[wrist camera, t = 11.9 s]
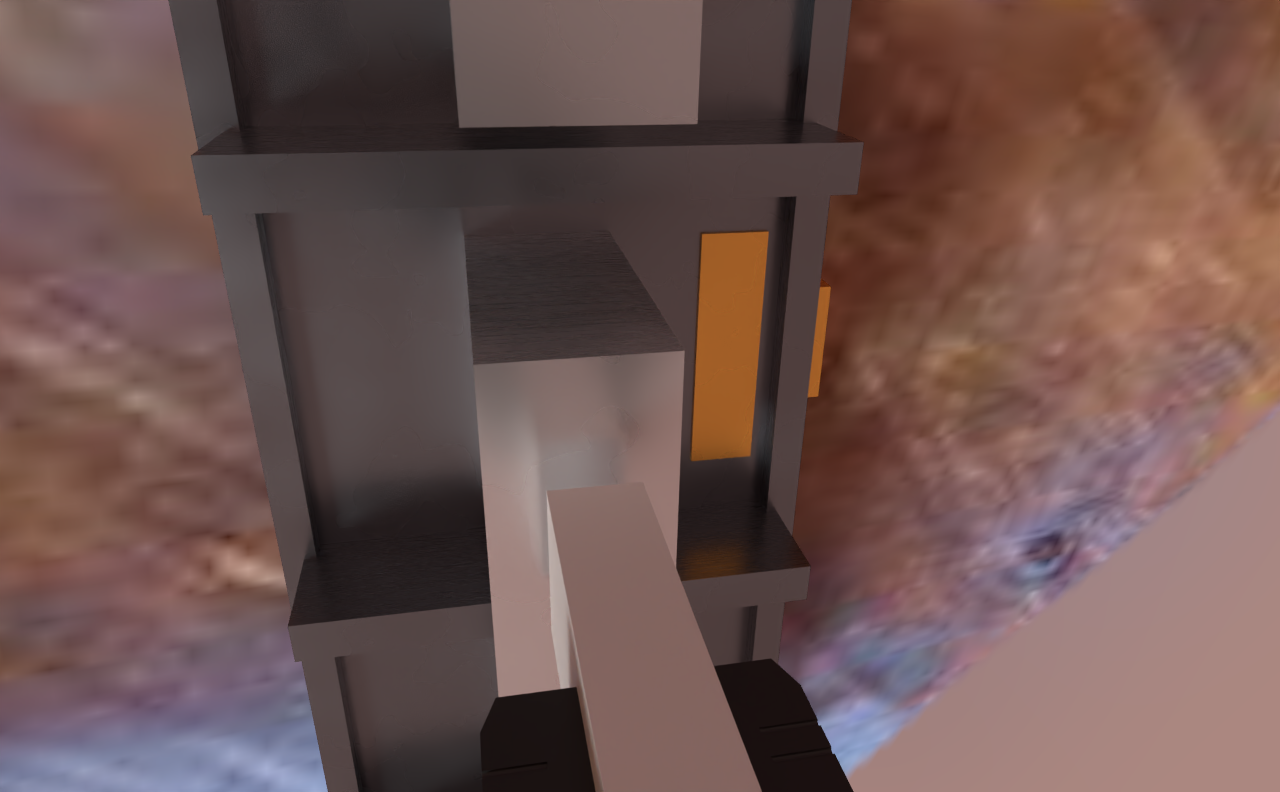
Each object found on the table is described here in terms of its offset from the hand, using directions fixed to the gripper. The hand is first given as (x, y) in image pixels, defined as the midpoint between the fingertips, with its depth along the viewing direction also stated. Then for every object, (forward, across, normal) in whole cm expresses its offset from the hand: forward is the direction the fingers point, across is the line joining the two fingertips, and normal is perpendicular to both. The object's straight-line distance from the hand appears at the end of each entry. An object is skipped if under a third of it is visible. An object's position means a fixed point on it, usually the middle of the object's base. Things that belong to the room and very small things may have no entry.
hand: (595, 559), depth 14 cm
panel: (+8, 0, 0) cm, 8 cm away
